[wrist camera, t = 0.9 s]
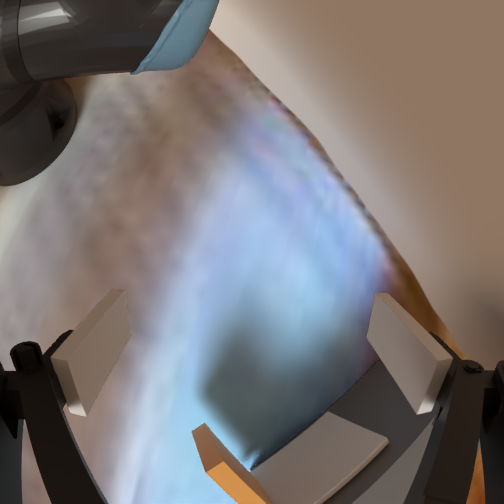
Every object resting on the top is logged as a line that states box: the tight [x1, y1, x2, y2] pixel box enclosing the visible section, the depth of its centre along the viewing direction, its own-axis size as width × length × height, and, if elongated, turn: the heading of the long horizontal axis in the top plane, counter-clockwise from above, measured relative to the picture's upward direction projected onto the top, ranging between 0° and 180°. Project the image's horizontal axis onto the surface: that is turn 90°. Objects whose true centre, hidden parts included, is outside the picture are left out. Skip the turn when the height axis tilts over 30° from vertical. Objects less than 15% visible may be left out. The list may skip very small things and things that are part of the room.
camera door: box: [192, 412, 389, 504], centre depth 23 cm, size 9×12×10 cm
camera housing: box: [250, 360, 481, 504], centre depth 25 cm, size 11×22×15 cm, turn 125°
